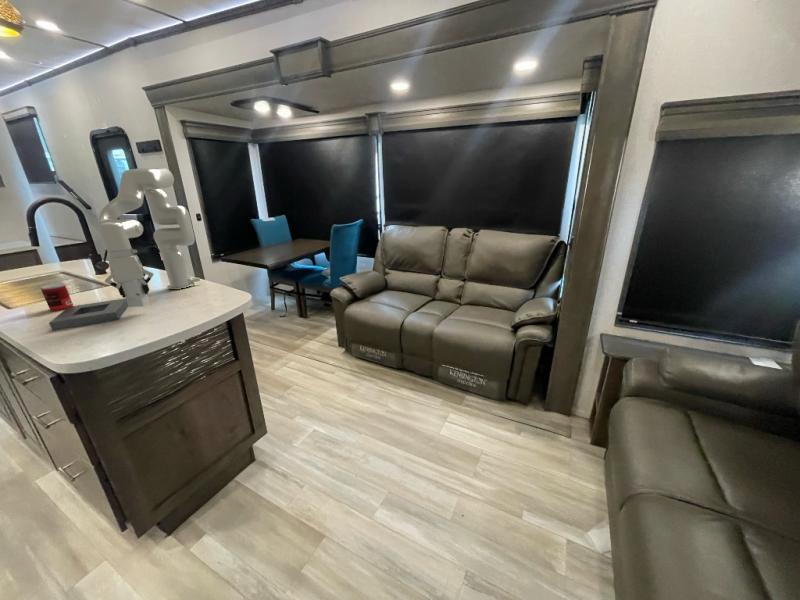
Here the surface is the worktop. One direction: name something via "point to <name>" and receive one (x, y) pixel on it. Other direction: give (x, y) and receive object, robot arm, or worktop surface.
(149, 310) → the worktop surface
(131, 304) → the skincare box
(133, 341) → the worktop surface
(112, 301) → the jig
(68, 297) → the canned food
